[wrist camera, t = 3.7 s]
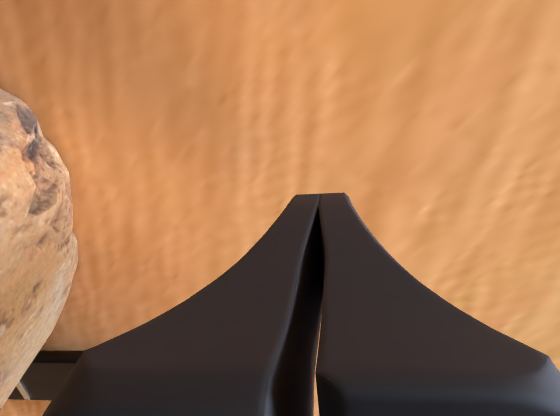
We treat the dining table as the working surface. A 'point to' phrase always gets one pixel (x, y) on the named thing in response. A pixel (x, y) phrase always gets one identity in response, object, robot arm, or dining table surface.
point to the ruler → (45, 375)
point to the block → (30, 240)
